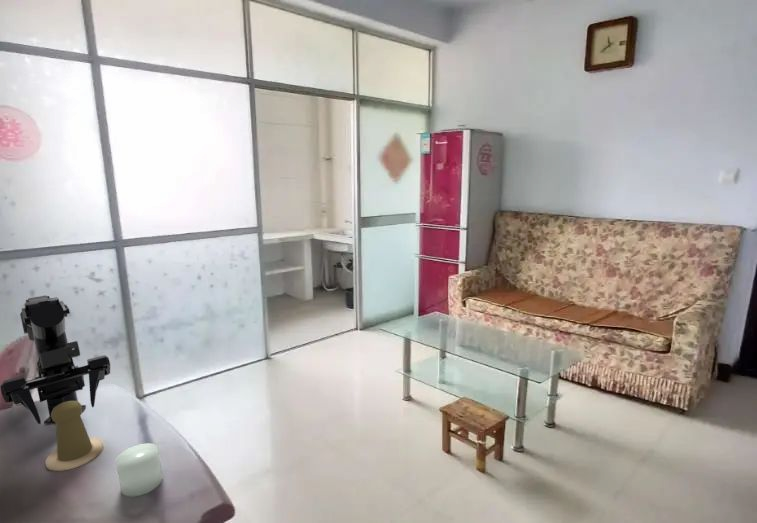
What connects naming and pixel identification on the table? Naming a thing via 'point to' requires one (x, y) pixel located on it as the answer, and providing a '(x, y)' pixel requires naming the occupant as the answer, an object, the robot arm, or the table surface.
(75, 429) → the pepper shaker
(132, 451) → the pale mint rounded cylinder
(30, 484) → the table surface
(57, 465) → the trivet
